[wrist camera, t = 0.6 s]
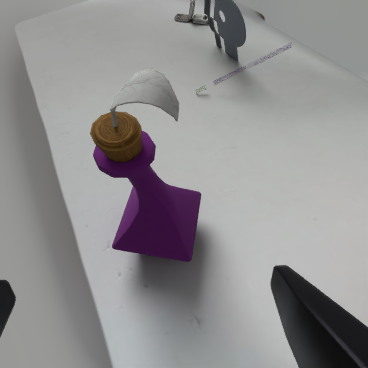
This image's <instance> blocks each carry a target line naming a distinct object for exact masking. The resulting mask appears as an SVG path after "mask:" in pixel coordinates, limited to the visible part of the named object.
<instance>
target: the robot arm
mask: <svg viewBox="0 0 368 368" xmlns="http://www.w3.org/2000/svg"><path fill="white" fill-rule="evenodd" d="M271 290H272V293H273V296H274V300H275V303H276V306H277V309H278V313H279V316H280V319H281V322H282V325H283V329H284V332H285V335H286V337H287V340H288V343H289V345H290V347H291V350H292V352H293V355H294V357H295V359H296V362H297V364H298V367H299V368H368V327H367V326H366V325H364V324H363V323H362V322H360V321H359V320H358V319H356V318H355V317H354V316H353V315H351V314H350V313H349V312H347V311H346V310H345V309H343V308H342V307H341V306H339V305H338V304H337V303H336V302H334V301H333V300H332V299H330V298H329V297H328V296H326V295H325V294H324V293H323V292H321V291H320V290H319V289H317V288H316V287H315V286H313V285H312V284H311V283H309V282H308V281H307V280H306V279H304V278H303V277H302V276H300V275H299V274H298V273H296V272H295V271H294V270H292V269H291V268H290V267H288V266H286V265H279V266H275V267H274V269H273V273H272V278H271ZM15 301H16V297H15V295H14V292H13V290H12V288H11V286H10V284H9V282H8V281H6V280H0V336H1V334H2V332H3V330H4V328H5V325H6V323H7V321H8V318H9V316H10V314H11V312H12V309H13V307H14V305H15Z"/></svg>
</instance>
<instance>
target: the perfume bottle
mask: <svg viewBox="0 0 368 368" xmlns="http://www.w3.org/2000/svg"><path fill="white" fill-rule="evenodd" d="M138 102H139V103H145V104H151V105H154V106H156V107H159V108H161V109H162V110H164V111H165V112H167V113H168V114H169V115H171V116H172V117H174V119H175V120H176V121H178V113H179V102H178V100H177V98H176V95H175V93H174V91H173V89H172V86H171V84H170V82H169V81H168V80H167V78H166V77H165V75H164V74H162V73H161V72H159V71H157V70H155V69H153V68H152V69H145V70H141V71H139V72H137V73H136V74H134V75H132V77H131V78H130V79H129V80H128V82H127V83H126V84H125V85H124V87H123V88H122V89H121V90H120V91H119V92H118V93H117V94H116V95H115V96H114V99H113V102H112V106H111V109H110V111H111V112H110V113H107V114H104V115H101V116H100V117H99V118H98V119H97V120H96V121H95V122H94V123H93V124H92V128H91V132H90V135H91V137H92V139H93V141H94V143H95V144H96V147H95V150H94V153H93V156H94V159H95V162H96V164H97V166H98V168H99V170H100V171H102V172H104V173H106V174H108V175H110V176H111V177H113V178H128V179H129V180H130V182H131V183H132V185H133V188H132V191H131V194H130V197H129V200H128V202H127V205H126V208H125V211H124V214H123V216H122V219H121V222H120V225H119V228H118V231H117V233H116V236H115V239H114V242H113V245H112V248H113V249H116V250H121V251H127V252H133V253H139V254H145V255H150V256H156V257H162V258H168V259H173V260H179V261H185V262H190V261H191V260H192V254H193V247H194V240H195V233H196V227H197V220H198V213H199V207H200V200H201V193H200V192H197V191H193V190H188V189H183V188H178V187H175V186H171V185H168V184H166V183H164V182H163V181H162V180H161V179H160V178H159V177H158V176H157V174H156V173H155V172H154V171H153V169H152V168H151V166H150V164H151V163H152V162H153V160H154V157H155V148H156V146H155V144H154V143H153V141H152V140H151V138H150V137H149V135H148V134H147V133H146V132H144V131H142V130H141V126H140V124H139V122H138V121H137V119H136V118H135V117H133V116H132V115H130V114H128V113H126V112H115V109H116V107H117V106H119V105H123V104H126V103H138Z"/></svg>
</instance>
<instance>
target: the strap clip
mask: <svg viewBox="0 0 368 368" xmlns="http://www.w3.org/2000/svg"><path fill="white" fill-rule="evenodd" d="M190 1H191V4H190V10H189V15H185V14H177V15H176V16H175V20H178V21H184V22H188V21H190V20H191V18H192V16H193V14H194V7H195V0H190ZM192 3H193V5H192ZM178 16H180V18H177V17H178ZM192 19H193V20H192V22H193V23H199V24H206V23H208V16H207V15H202V14H196V15H194V16H193V18H192Z"/></svg>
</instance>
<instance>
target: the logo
mask: <svg viewBox="0 0 368 368" xmlns="http://www.w3.org/2000/svg"><path fill="white" fill-rule="evenodd" d="M210 3H211V0H205V8H204V14H206V15H207V16H208V21H209V26H210V28H211V30H212V31H213V32H214V33H215V38H216V44H217V46H219V47H220V48H221V49H222V46H221V40H220V36H221V37H222V38H223V39H224V44H225V51H226V52H227V53H228V54H229V55H231V56H232V57H233V58H235V59H236V60H237V61H238V54H237V47H240V46H242V45H243V44H244V43H245V40H246V28H245V23H244V20H243V17H242V14H241V12H240V10H239V8H238V7H237V5H236V4H235V3H234V1H233V0H215V8H214V20H215V21H217V26H218V32H219V34H220V35H219V34H218V33H217V32H216V30H215V27H214V22H213V18H212V17H210ZM220 10H221V11H222V12H223V13H224V16H225V22H223V21H222V19H221V18H220V14H219V11H220ZM290 48H291V44H290ZM288 49H289V45H288ZM286 50H287V46H286ZM284 51H285V48H284ZM282 52H283V49H282ZM280 53H281V50H280ZM278 54H279V51H278ZM276 55H277V52H276ZM274 56H275V53H274ZM272 57H273V54H272ZM270 58H271V56H270ZM268 59H269V57H268ZM266 60H267V58H266ZM264 61H265V59H264ZM262 62H263V60H262ZM260 63H261V62H260ZM258 64H259V63H258ZM256 65H257V64H256ZM243 67H244V66H243ZM241 68H242V67H241ZM239 69H240V68H239ZM237 70H238V69H237ZM235 71H236V70H235ZM233 72H234V71H233ZM231 73H232V72H231ZM229 74H230V73H229ZM227 76H228V74H227ZM225 77H226V75H225ZM223 78H224V76H223ZM221 79H222V77H221ZM219 81H220V78H219ZM217 82H218V79H217ZM213 83H214V81H213ZM215 84H216V80H215ZM203 87H204V88H205V86H203ZM203 87H201V89H200V88H199V92H201V91H203V90H202V89H204V88H203ZM205 89H206V88H205ZM205 89H204V90H205ZM197 90H198V89H197ZM200 90H201V91H200ZM195 91H196V90H195ZM197 92H198V91H197ZM197 92H196V94H197ZM199 92H198V93H199Z"/></svg>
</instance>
